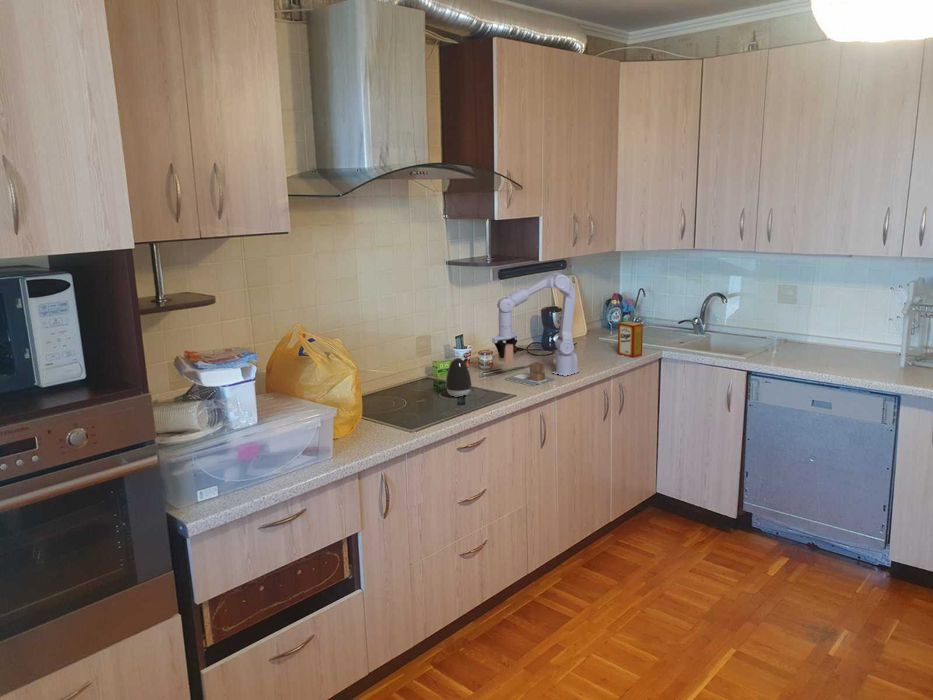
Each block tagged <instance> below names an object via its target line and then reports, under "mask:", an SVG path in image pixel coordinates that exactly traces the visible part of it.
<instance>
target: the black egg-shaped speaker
mask: <svg viewBox="0 0 933 700" xmlns="http://www.w3.org/2000/svg"><path fill="white" fill-rule="evenodd" d="M468 361H469V359H468V358H464V359H461V358H454V359H453V360H452V361H451V362H450V364H449V366H448V370H447V374H446V377H445V379H446V380H445V389H446V391H447V393H448V394H449V396H451V397H452V396H454V397H453V398H456V397H458V396H463V395H466V396H467V395H469V393H470V392H471V388H472V380H471V374H470V372H469V368H468V366H467V364H466V363H467V362H468Z"/></svg>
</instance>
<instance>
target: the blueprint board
mask: <svg viewBox="0 0 933 700" xmlns="http://www.w3.org/2000/svg"><path fill="white" fill-rule="evenodd" d="M505 379H509V380H513V381H518V382H522V383H526V384H530V385H535V384H539V383H543V382H546V381H549V380H553V379H555V380H556V378H554V377H551V376H550V377H549V376H546V375H545V380H543V381H539V382H536V381H532V380H530V372H523V373H519V374H516V375H512V376H508V377H505V378H504V380H505ZM553 381H554V380H553ZM549 382H550V381H549ZM546 383H547V382H546ZM543 384H544V383H543ZM539 385H540V384H539Z"/></svg>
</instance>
